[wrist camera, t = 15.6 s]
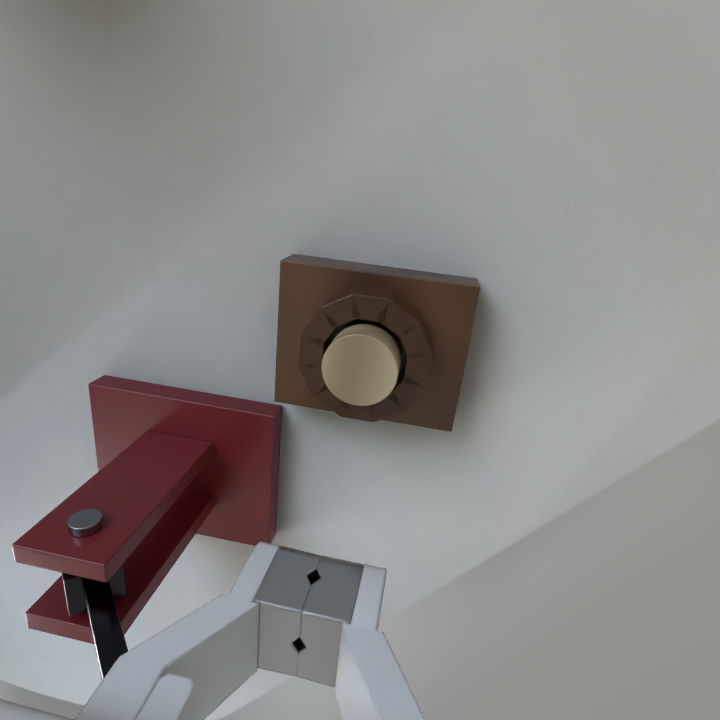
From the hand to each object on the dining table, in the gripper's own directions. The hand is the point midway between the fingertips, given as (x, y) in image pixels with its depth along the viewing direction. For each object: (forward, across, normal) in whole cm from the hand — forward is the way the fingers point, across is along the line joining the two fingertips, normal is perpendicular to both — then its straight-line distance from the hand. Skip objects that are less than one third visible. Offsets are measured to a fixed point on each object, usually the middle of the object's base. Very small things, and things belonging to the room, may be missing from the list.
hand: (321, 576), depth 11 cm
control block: (+17, +1, 0) cm, 17 cm away
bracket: (+17, +13, +10) cm, 24 cm away
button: (+14, +1, 0) cm, 14 cm away
